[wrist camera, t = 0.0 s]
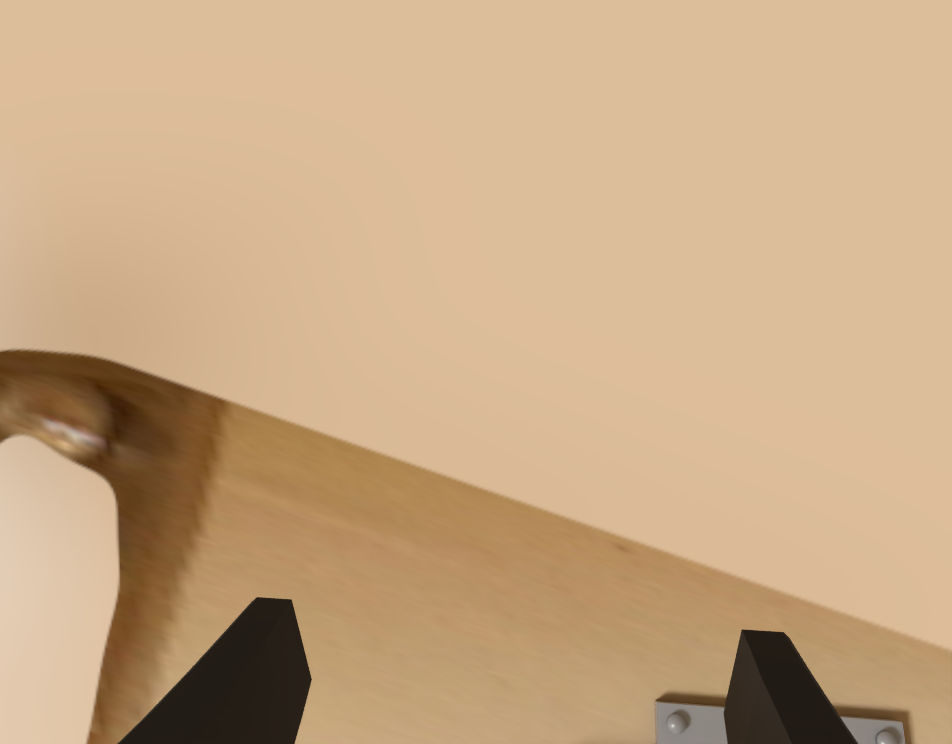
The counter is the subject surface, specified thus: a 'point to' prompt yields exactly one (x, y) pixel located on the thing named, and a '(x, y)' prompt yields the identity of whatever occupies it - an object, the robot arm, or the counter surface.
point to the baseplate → (704, 734)
